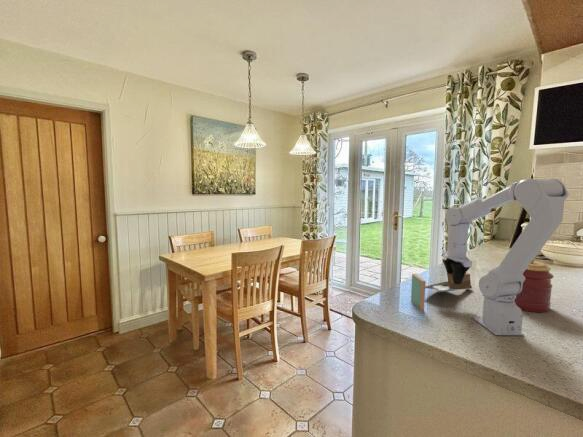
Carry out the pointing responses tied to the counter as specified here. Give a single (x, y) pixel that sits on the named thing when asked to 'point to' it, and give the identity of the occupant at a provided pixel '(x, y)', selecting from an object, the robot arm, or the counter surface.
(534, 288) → the canister
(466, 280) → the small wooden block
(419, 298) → the tile
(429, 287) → the kitchen cleaver
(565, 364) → the counter surface
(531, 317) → the counter surface
